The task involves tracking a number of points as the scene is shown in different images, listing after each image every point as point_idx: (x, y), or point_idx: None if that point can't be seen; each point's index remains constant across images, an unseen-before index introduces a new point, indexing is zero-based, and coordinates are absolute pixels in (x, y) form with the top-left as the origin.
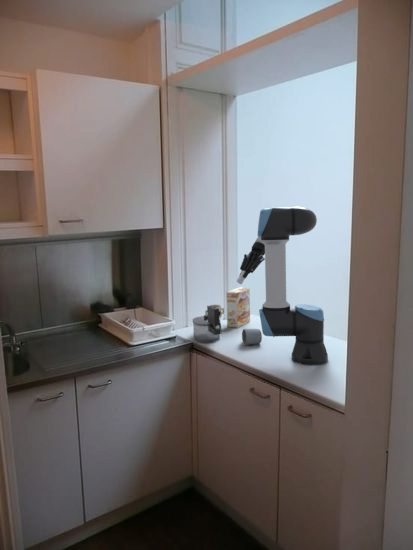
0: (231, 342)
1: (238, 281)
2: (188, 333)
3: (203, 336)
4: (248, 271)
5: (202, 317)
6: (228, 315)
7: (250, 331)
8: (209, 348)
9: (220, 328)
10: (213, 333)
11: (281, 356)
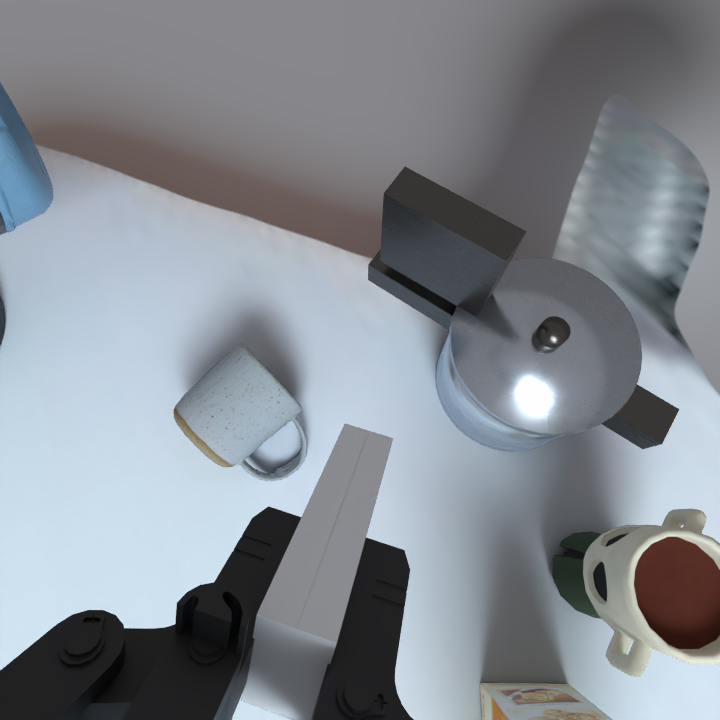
0: (356, 389)
1: (351, 433)
2: None
3: None
4: (160, 638)
5: (601, 370)
6: (589, 712)
7: (221, 368)
8: None
9: (554, 576)
10: None
11: (54, 318)
